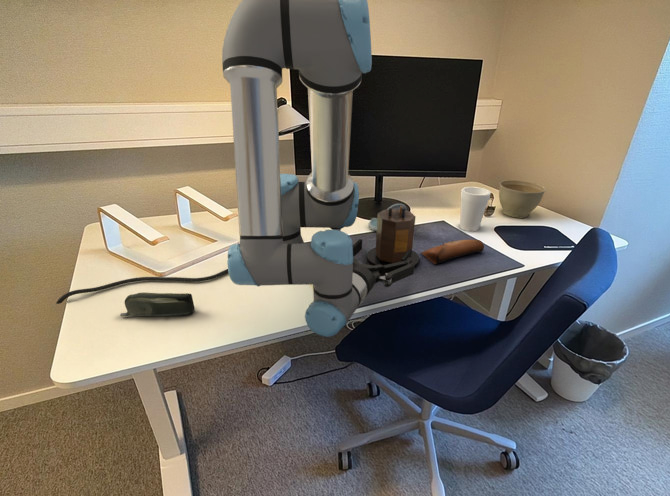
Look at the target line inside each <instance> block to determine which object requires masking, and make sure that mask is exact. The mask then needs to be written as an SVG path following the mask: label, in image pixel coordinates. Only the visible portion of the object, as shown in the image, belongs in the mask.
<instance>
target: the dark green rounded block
mask: <svg viewBox="0 0 670 496" xmlns="http://www.w3.org/2000/svg"><path fill="white" fill-rule="evenodd" d="M124 306H125V309H126V312H122V313H121V312H120V314H119V315H120V317H136V316H137V317H147V316H148V317H149V316H150V317H152V316H165V317H167V316H169V317H170V316H171V317H172V316H174V317H177V316H180V317H181V316H183V317H184V316H189V315H191V314H193V313H194V311H195V307H196V306H195V304H194V298H193V295H192V293H175V292H174V293H172V292H170V293H169V292H166V293H164V292H163V293H162V292H137V293H133V294H129V295H127V296H126V298H125V299H124Z"/></svg>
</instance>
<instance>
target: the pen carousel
mask: <svg viewBox="0 0 670 496" xmlns="http://www.w3.org/2000/svg"><path fill="white" fill-rule="evenodd" d="M388 208H389V207H388ZM388 208H387V209H383V210H381V211H380V212H378V213H377V217H376V219H377V232H376V237H375V247H376V255H377V257H378V258H379V259H380V260H382V261H386V262H390V263H397V262H401V259H402V258H403V256H404V255H405V254H406V252H407V251H408V249H412V250H413V243H414V234H415V226H416V225H415V224H416V217H417V216H416V215H415V214H413V213H412V212H411V211H409V210H407V211H405V208H403V207H402V206H400V209H392V208H389V209H388ZM411 254H412V252H411Z"/></svg>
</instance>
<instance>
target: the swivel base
mask: <svg viewBox="0 0 670 496" xmlns="http://www.w3.org/2000/svg"><path fill="white" fill-rule="evenodd" d="M411 258H412V261H411V263H413V264H415V266H414V270H416V269H417V268H418V267H419V265H420V256H419V254H418V253H417V252H416V251H414V250H413V249H412V254H411ZM366 262H367V265H373V266H374V265H379V264H381V265H388V264H392V263H390V262H386V261H382V260H380V259H379V258H378V257H377V255H376V246H375V247H373V248H371V249H369V251H368V252H367V253H366ZM378 271H379V269H378Z"/></svg>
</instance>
